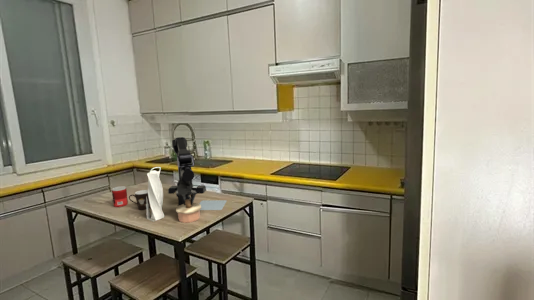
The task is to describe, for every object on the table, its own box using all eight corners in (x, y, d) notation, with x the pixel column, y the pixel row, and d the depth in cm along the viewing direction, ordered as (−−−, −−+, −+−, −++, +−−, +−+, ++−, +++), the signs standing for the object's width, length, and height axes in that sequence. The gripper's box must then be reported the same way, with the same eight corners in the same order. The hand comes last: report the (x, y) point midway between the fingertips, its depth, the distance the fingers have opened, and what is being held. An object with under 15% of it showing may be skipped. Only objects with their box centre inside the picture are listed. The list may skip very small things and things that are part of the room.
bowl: (175, 222, 151) (174, 213, 150) (182, 214, 162) (182, 205, 161) (196, 222, 150) (195, 213, 150) (202, 214, 161) (201, 205, 160)
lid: (172, 213, 149) (171, 204, 149) (181, 204, 162) (180, 196, 161) (197, 213, 149) (196, 204, 148) (204, 204, 161) (203, 195, 160)
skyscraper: (160, 214, 164) (155, 165, 160) (168, 217, 159) (164, 167, 154) (146, 219, 158) (141, 168, 153) (154, 222, 153) (149, 170, 148)
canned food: (130, 203, 182) (128, 186, 180) (119, 208, 175) (117, 190, 173) (122, 202, 185) (120, 185, 184) (110, 206, 178) (108, 189, 176)
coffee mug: (155, 206, 176) (153, 190, 175) (144, 211, 168) (143, 194, 167) (139, 204, 180) (138, 189, 178) (129, 209, 172) (127, 193, 170)
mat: (193, 210, 167) (193, 209, 167) (201, 201, 183) (201, 200, 183) (221, 210, 166) (221, 209, 166) (227, 201, 182) (227, 200, 182)
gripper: (162, 181, 145) (165, 210, 148) (199, 180, 144) (201, 210, 146) (171, 175, 156) (173, 203, 159) (205, 174, 155) (207, 203, 157)
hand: (188, 205), depth 155 cm, fingers open, 3 cm apart
